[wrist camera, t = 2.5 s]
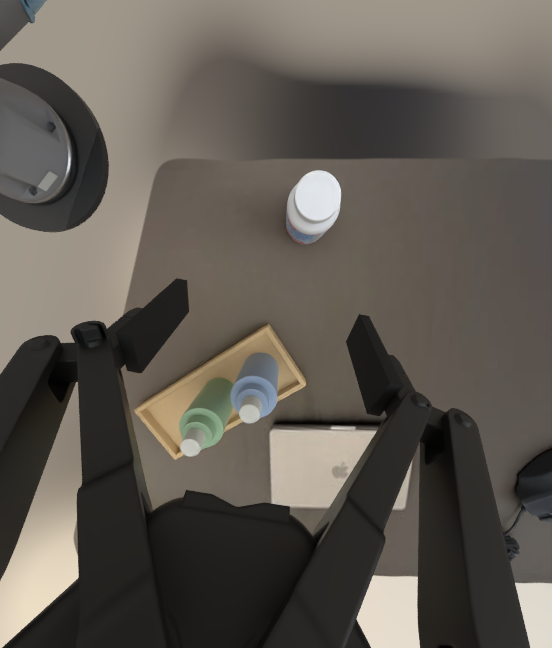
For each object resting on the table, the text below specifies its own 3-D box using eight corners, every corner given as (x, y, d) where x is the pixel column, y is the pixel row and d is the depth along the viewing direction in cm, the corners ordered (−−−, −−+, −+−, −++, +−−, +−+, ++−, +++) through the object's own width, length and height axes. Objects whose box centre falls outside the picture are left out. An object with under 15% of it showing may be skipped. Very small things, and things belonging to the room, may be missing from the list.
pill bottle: (278, 217, 33) (275, 186, 22) (313, 192, 32) (328, 146, 21) (299, 253, 34) (307, 240, 23) (334, 230, 33) (359, 204, 22)
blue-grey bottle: (237, 375, 37) (213, 422, 25) (253, 345, 36) (237, 380, 24) (268, 391, 38) (260, 446, 25) (285, 363, 36) (285, 405, 24)
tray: (180, 450, 41) (174, 460, 39) (142, 403, 40) (133, 410, 37) (305, 378, 38) (306, 385, 35) (268, 323, 36) (267, 326, 34)
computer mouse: (599, 453, 38) (651, 482, 33) (481, 572, 45) (509, 612, 39) (556, 430, 38) (601, 455, 32) (443, 554, 44) (465, 592, 39)
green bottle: (197, 399, 38) (156, 455, 26) (212, 371, 37) (176, 416, 25) (227, 415, 39) (201, 477, 26) (243, 387, 38) (223, 440, 25)
